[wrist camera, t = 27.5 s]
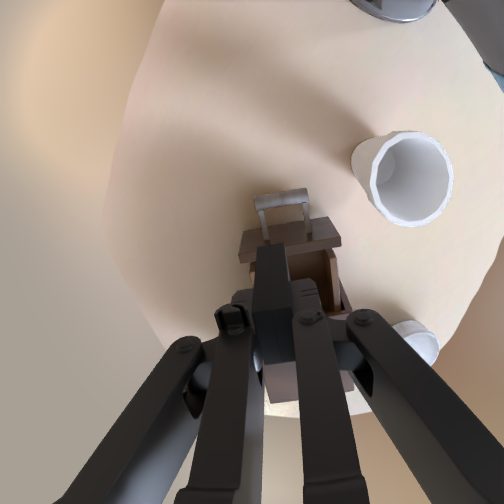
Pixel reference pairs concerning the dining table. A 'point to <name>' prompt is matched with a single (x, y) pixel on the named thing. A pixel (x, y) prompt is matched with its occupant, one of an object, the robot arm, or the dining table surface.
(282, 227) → the drawer
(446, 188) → the foam cup
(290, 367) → the cabinet
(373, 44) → the dining table surface
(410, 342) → the ramekin
